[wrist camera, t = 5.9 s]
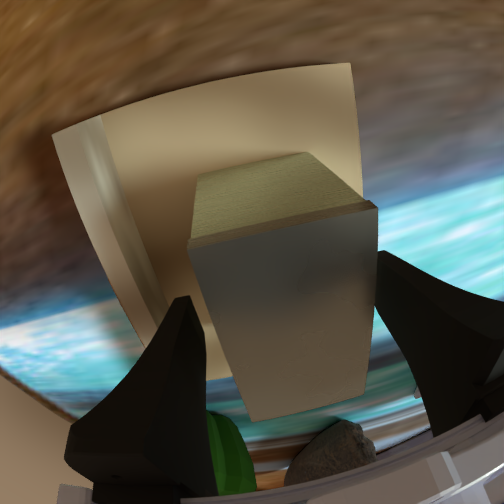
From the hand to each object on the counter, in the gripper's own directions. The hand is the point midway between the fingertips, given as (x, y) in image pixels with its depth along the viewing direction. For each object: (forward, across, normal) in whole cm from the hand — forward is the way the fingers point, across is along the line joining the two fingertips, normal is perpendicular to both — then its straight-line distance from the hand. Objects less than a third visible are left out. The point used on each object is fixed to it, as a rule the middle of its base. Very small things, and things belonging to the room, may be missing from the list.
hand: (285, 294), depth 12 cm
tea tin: (+3, 0, 0) cm, 3 cm away
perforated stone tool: (+4, -1, +25) cm, 26 cm away
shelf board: (+4, +1, 0) cm, 4 cm away
